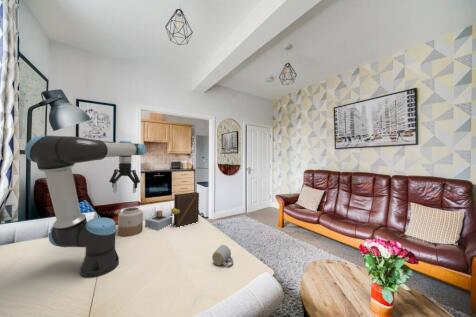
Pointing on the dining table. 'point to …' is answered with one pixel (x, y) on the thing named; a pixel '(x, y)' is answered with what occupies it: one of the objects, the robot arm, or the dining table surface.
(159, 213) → the dowel
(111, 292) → the dining table surface
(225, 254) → the ceramic mug
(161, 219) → the socket block
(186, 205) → the book
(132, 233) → the vase
